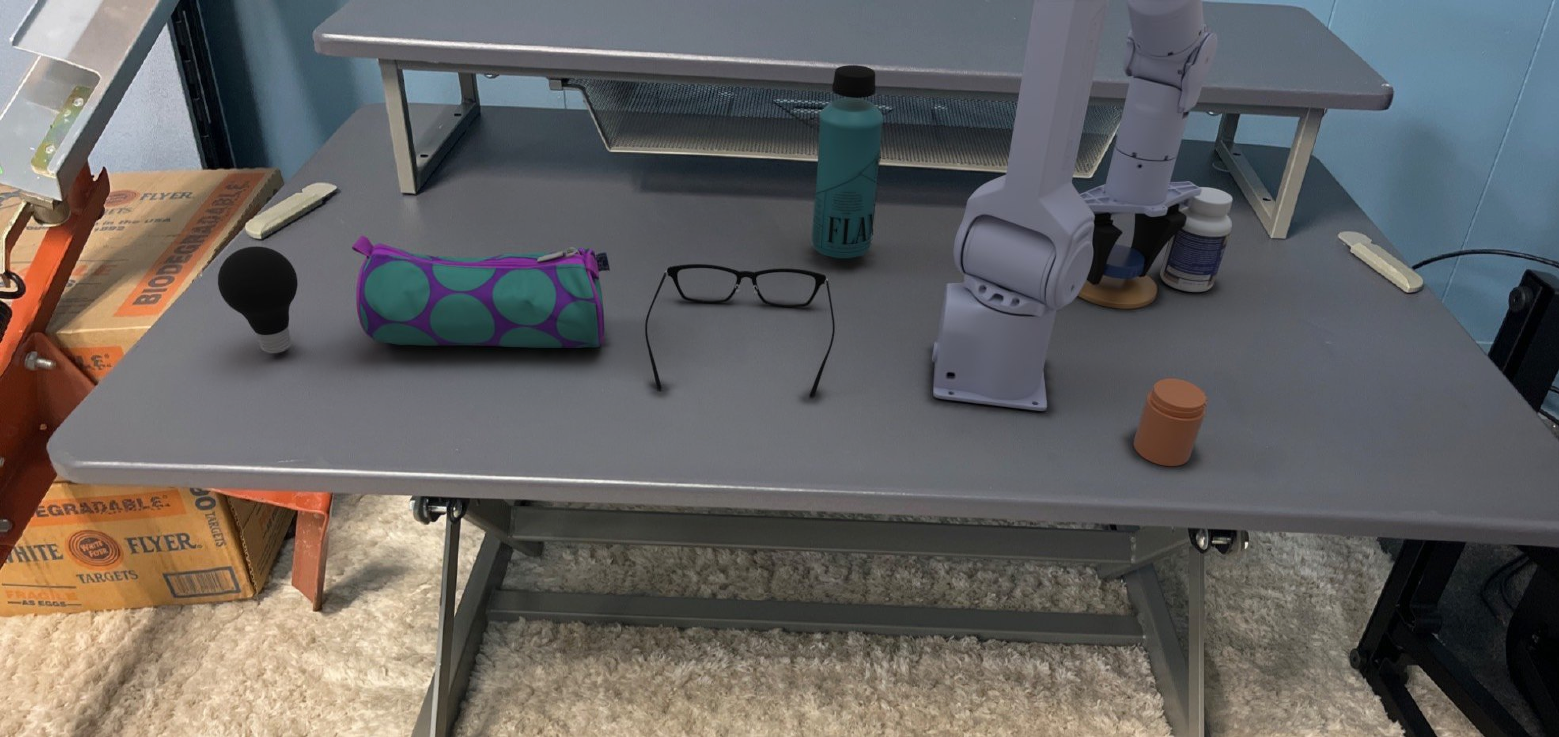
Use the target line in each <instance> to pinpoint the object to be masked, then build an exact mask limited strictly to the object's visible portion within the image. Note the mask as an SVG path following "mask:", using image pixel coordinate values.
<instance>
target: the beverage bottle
mask: <svg viewBox="0 0 1559 737" xmlns="http://www.w3.org/2000/svg"><path fill="white" fill-rule="evenodd" d="M833 75H834V76H833V82H832V87H831V91H832V92H833V93H834V94H836V95H838V96H841V97H842V98H837V99H834V100H832V101H831V102H830V103H828V104H827V105H826V106H825V107H823V109H821V111H820V113H819V133H818V134H819V135H818V136H819V137H818V149H817V150H818V151H817V167H816V185H815V189H814V190H815V191H814V200H813V201H814V203H813V218H812V232H811V241H812V246H813V248H814V249H815V250H816V251H817V252H819V253H820V254H822V255H825V256H827V257H829V258H836V259H853V258H858V257H860V256H863V255H865V254H866V253H867V252H868V251H869V249H870V247H871V245H872V244H873V236H874V228H873V227H874V221H875V218H876V217H875V214H876V210H875V208H876V205H877V204H876V203H877V195H878V189H877V185H879V183H878V177H879V174H880V172H879V170H880V169H881V168H880V164H881V159H882V151H881V145H882V142H883V140H882V128H883V123H884V115H883V113H882V112H881V111H880V110H879V108H878V107H877V106H876V105H875V104H874V103H873V102H871V101H869V100H867V99H864V98H869V97H871V96H873V95H875V94H876V71H875V70H874V69H873V68H871V67H868V66H864V65H856V64H849V65H848V64H847V65H841V66H838V67H836V68H835V70H834V74H833Z"/></svg>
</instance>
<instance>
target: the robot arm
mask: <svg viewBox="0 0 1559 737" xmlns="http://www.w3.org/2000/svg"><path fill="white" fill-rule="evenodd" d="M1109 4H1110V0H1034V1H1033V7H1032V14H1031V20H1030V25H1029V33H1028V37H1027V38H1028V39H1027V45H1026V50H1025V57H1024V61H1023V62H1024V63H1023V68H1022V74H1021V81H1020V87H1019V92H1018V93H1019V94H1018V99H1017V105H1016V111H1015V118H1014V123H1013V129H1012V136H1011V141H1010V147H1009V153H1008V154H1009V155H1008V160H1007V165H1006V166H1007V167H1006V172H1005V174H1004V175H1002V176H999V177H996V178H994V179H991V180H989V181H987V182H985V183H983V184H982V185H981V186H979V187H978V188H976V190H975V191H974V192H973V193H972V194H971V195H970V196H969V198H968V199H967V201H966V206H965V210H964V214H963V218H962V221H961V223H960V225H959V227H958V230H957V232H956V235H955V237H954V244H953V254H952V255H953V259H954V266H955V268H956V270H957V271H958V272H959V273H961V274H963V275H964V277H963V281H962V282H949V283H946V284H945V288H944V295H943V301H942V307H941V314H940V320H939V326H938V334H937V338H936V339H937V341H936V340H935V341H933V347H932V356H931V362H932V363H934V369H933V370H934V371H933V389H932V390H933V391H932V396H933V397H934V398H935V399H940V400H947V401H955V402H964V403H973V404H980V405H989V406H995V407H996V406H997V407H1006V408H1013V409H1021V410H1029V411H1037V412H1038V411H1039V412H1044V411H1046V410H1047V408H1048V400H1047V399H1048V398H1047V391H1046V382H1045V381H1046V380H1045V372H1044V368H1045V363H1046V359H1047V354H1048V350H1049V346H1050V341H1051V337H1052V333H1053V329H1054V324H1055V319H1056V315H1057V310H1058V311H1059V310H1061V309H1063V308H1065V307H1066V306H1069V305H1070V304H1071V303H1072V302H1074V301H1075V299H1076V298H1077V297H1078V294H1079V292H1080V291H1081V289H1082V287H1083V285H1084V283H1085V281H1086V280H1087V281H1089V282H1090V283H1091V284H1092V285H1096V284H1099V283H1100V281H1101V279H1102V277H1103V274H1104V270H1105V267H1106V263H1107V260H1108V257H1109V255H1110V252H1111V250H1112V248H1113V246H1114V245H1115V244H1117V242H1118V240H1119V238H1120V237H1121V235H1123V233H1124V232H1123V231H1122V230H1121V229H1120V228H1119V227H1117V226H1116V225H1115V224H1114V219H1112V216H1113V215H1122V214H1134V228H1133V237H1132V241H1131V246H1130V248H1132V249H1135V250H1136V251H1138V252H1140V253H1141V254H1142V255H1143V257H1144V259H1145V261H1144V268H1143V271H1142V274H1140V275H1139V277H1145V275H1147V274H1148V272H1149V270H1150V269H1151V267H1152V265H1153V264H1154V262H1155V261H1156V260H1157V257H1158V256H1159V254H1160V253H1161V251H1162V250H1163V249H1164V247H1165V246H1167V244H1168V242H1169V240H1170V239H1171V238H1172V237H1173V236H1174V235H1175V234H1176V233H1177V232H1178V231H1179V230H1180V229H1181V228H1183V227H1184V226H1185V223H1186V219H1187V216H1186V215H1185V214H1183V213H1182V212H1180V207H1181V206H1185V207H1190V206H1191V204H1192V201H1193V198H1194V196H1198V195H1200V193H1201V190H1202V189H1201V188H1199V187H1200V186H1198V185H1196V184H1194V183H1193V182H1191V181H1189V180H1187V181H1171V179H1172V177H1173V173H1174V169H1175V165H1176V161H1177V159H1178V155H1179V151H1180V148H1181V144H1182V140H1183V137H1184V132H1185V130H1186V126H1187V122H1188V118H1189V116H1190V111H1191V109H1193V108H1194V107H1195V106H1196V105H1197V103H1198V100H1199V98H1200V95H1201V92H1202V88H1203V85H1204V84H1205V81H1206V79H1207V77H1208V75H1209V73H1210V71H1211V68H1212V66H1213V63H1214V60H1215V57H1216V53H1217V48H1218V40H1219V39H1218V35H1217V33H1216V32H1212V28H1211V27H1210V25H1207V24H1205V20H1204V10H1203V8H1204V7H1203V0H1126V5H1127V11H1128V17H1129V22H1130V27H1131V28H1130V30H1129V32H1128V34H1127V38H1126V49H1125V53H1124V59H1123V72H1124V74H1125V75H1126V76H1127V77H1128V78H1129V77H1132V79H1131V80H1130V81H1129V84H1128V89H1127V93H1126V97H1125V102H1124V106H1123V109H1122V110H1123V111H1122V113H1121V119H1120V122H1119V127H1118V131H1117V136H1116V139H1115V144H1114V148H1113V151H1112V155H1111V160H1110V164H1109V169H1108V171H1107V177H1106V180H1105V183H1104V184H1102V185H1099V186H1096V187H1093V188H1092V189H1088V190H1086V191H1084V192H1082V193H1079V192H1078V190H1077V189H1076V187H1075V185H1074V184H1073V178H1074V172H1075V168H1076V164H1077V158H1078V153H1079V149H1080V144H1081V140H1082V134H1083V129H1084V124H1085V120H1086V115H1087V110H1088V104H1089V100H1090V95H1091V90H1092V85H1093V81H1094V76H1095V75H1094V74H1095V71H1096V66H1097V61H1098V56H1099V52H1100V46H1101V41H1102V38H1103V37H1102V36H1103V33H1104V32H1103V31H1104V27H1105V23H1106V17H1107V14H1108V13H1107V12H1108V8H1109Z"/></svg>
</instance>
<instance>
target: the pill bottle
mask: <svg viewBox="0 0 1559 737" xmlns="http://www.w3.org/2000/svg"><path fill="white" fill-rule="evenodd" d="M1198 187H1199V188H1201V189H1202V190H1201V193H1200V195H1198V196H1194V198H1193V201H1192V204H1191V206H1190V207H1186V206H1185V207H1182V208H1181V209H1179V211H1180V212H1182V213H1183V214H1185V215H1186V216H1187V219H1186V223H1185V226H1184V227H1183V228H1181V229H1180V230H1179V231H1178V232H1177V233H1176V234H1175V235H1174V236H1173V237H1172V238H1171V239H1170V240H1169V241H1168V242H1167V245H1166V250H1165V253H1164V257H1163V260H1162V263H1161V267H1160V272H1159V276H1160V278H1161V280H1162V281H1163V282H1164V283H1165V285H1168V286H1169V287H1171V288H1173V289H1175V290H1179V291H1183V292H1189V293H1201V292H1207V291H1208V290H1210V289H1211V288H1213V286H1214V283H1215V281H1216V278H1217V275H1218V273H1219V269H1220V266H1221V262H1222V259H1223V257H1224V254H1225V250H1226V248H1227V244H1228V241H1229V238H1230V235H1231V232H1232V227H1233V223H1232V219H1231V218H1230V217H1229V216H1228V214H1229V213H1230V211H1231V208H1232V204H1233V196H1232V195H1231V194H1230V193H1228V192H1226V191H1224V190H1221V189H1218V188H1214V187H1208V186H1207V187H1206V186H1198Z"/></svg>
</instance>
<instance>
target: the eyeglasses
mask: <svg viewBox="0 0 1559 737" xmlns="http://www.w3.org/2000/svg"><path fill="white" fill-rule="evenodd" d="M690 269H710V270H711V269H712V270H719V271H723V272H726V273H730V274H733V275H734V276H735V277H736V281H735V284H734V287H733V289H732V290H731V292H730V294H729V295H728V296H727V297H726V298H723V299H717V300H705V299H696V298H691V297H687V296H686V295H685V293H684V291H683V290H682V289H681V286H680V283H679V276H678V274H679V272H681V271H682V270H690ZM773 273H790V274H791V273H792V274H800V275H805V276H810V277H812V278H813V279H814V281H815V282H814V289H813V291H812V294H811V295H810V297H809V299H808V300H807V301H806V302H804V303H797V304H783V303H782V304H781V303H775V302H770V301H768V300H766V299H765V298H764V296H763V294H762V293H761V291H760V289H759V286H758V281H757V278H758V277H759V276H762V275H767V274H773ZM667 276H668V277H670V278H671V279H672V281H673V283H674V285H675V287H676V290H677V293H679V295H680V297H681V298H682V299H683V300H685V301H687V302H688V301H689V302H692V303H698V304H699V303H700V304H721V303H726V302H728V301H730V300H731V299H732V297H733V296H734V295H735V294H737V295H738V294H739V293H740V288H741V286H740V285H741V282H742V279H744V278H748V279H750V280H751V283H752V290H753V291H752V294H754V296H758V297H759V299H760V300H761V301H762V303H764V304H765V305H769V306H774V307H780V308H801V307H807V306H809V305H810V304H811V303H812V302H813V300H814V298H815V297H816V295H817V293H818V292H819V291H820V287H821V286H822V285H825V284H826V290H827V296H828V302H829V308H830V316H831V324H832V332H831V337H830V338H831V339H830V342H829V346H828V348H827V352H826V354H825V355H824V358H823V360H822V363H821V365H820V367H819V369H818V372H817V374H816V376H815V379H814V382H813V385H812V387H811V390H810V393H809V398H813V397H814V396H815V395H816V394H817V391H818V387H819V383H820V380H821V377H822V375H823V372H824V368H825V366H826V363H827V360H828V358H829V355H830V352H831V349H832V346H833V343H834V337H835V332H836V324H835V316H834V309H833V303H832V296H831V290H830V283H829V279H828V277H827V276H826V275H825V274H823V273H820V272H816V271H811V270H808V269H807V270H806V269H800V268H783V267H782V268H769V269H762V270H757V271H756V270H755V271H750V270H741V271H740V270H737V269H734V268H730V267H725V266H722V265H716V264H715V265H714V264H708V263H707V264H705V263H690V264H689V263H688V264H679V265H672V266H668V268H666V270H665V271H664V273H663V276H662V277H661V279H660V282H659V284H658V287H657V289H656V292H655V294H654V297H653V300H652V302H651V303H650V306H649V308H648V312H647V314H646V317H645V323H644V334H645V341H646V347H647V351H648V355H649V359H650V364H651V367H652V373H653V377H654V381H655V386H656V388H657V389H658V390H662V389H663V388H662V387H663V386H662V384H661V381H660V380H661V379H660V375H659V372H658V368H657V366H656V361H655V358H654V354H653V350H652V348H651V345H650V341H649V333H648V322H649V318H650V315H651V312H652V309H653V306H654V304H655V302H656V300H657V297H658V295H659V293H660V291H661V288H662V287H663V284H664V281H665V280H666V277H667Z"/></svg>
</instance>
